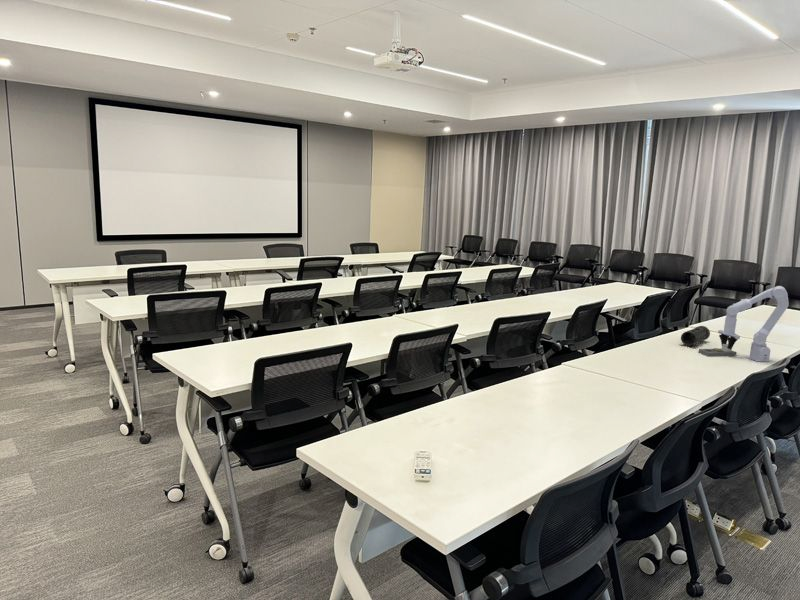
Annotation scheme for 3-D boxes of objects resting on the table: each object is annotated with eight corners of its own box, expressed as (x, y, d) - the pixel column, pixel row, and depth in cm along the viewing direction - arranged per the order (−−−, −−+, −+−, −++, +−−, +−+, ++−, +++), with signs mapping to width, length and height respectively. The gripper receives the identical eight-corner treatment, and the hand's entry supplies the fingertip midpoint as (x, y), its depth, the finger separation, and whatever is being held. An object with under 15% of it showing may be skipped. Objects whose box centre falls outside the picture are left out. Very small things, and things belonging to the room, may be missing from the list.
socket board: (736, 356, 320) (736, 350, 319) (708, 356, 316) (708, 351, 316) (725, 352, 327) (726, 347, 327) (698, 352, 324) (699, 347, 323)
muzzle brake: (679, 345, 341) (681, 329, 339) (694, 339, 360) (696, 324, 358) (695, 348, 334) (697, 332, 332) (710, 342, 353) (712, 326, 351)
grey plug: (730, 355, 321) (732, 345, 320) (725, 355, 321) (727, 345, 320) (725, 353, 325) (727, 344, 324) (720, 353, 324) (722, 343, 323)
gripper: (715, 323, 326) (712, 344, 328) (733, 328, 312) (730, 351, 314) (725, 323, 327) (722, 344, 330) (744, 328, 313) (740, 351, 316)
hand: (726, 347), depth 322 cm, fingers open, 4 cm apart
